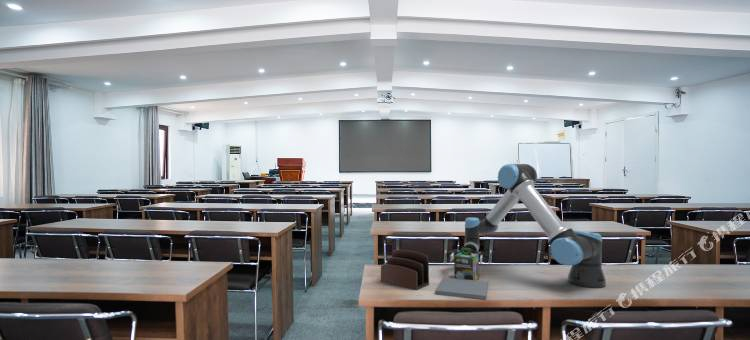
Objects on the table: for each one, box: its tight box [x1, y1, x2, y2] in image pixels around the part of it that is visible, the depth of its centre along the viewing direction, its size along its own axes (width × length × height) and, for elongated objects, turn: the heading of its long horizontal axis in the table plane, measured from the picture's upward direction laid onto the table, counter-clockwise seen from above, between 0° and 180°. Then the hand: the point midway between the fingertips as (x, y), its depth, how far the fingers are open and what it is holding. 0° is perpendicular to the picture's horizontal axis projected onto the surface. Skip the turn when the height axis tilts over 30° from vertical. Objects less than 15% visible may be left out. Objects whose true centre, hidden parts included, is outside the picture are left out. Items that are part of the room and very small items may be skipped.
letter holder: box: [380, 248, 430, 291], centre depth 180 cm, size 10×20×14 cm, turn 51°
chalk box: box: [453, 247, 480, 281], centre depth 186 cm, size 9×9×15 cm
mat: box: [434, 277, 489, 300], centre depth 171 cm, size 20×20×2 cm
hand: (465, 259), depth 188 cm, fingers open, 13 cm apart
